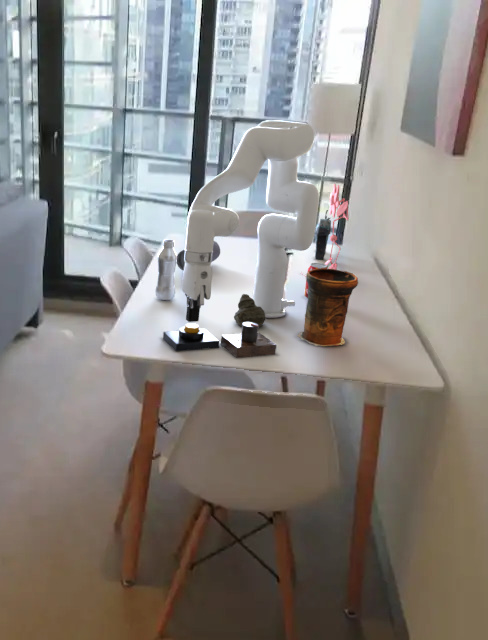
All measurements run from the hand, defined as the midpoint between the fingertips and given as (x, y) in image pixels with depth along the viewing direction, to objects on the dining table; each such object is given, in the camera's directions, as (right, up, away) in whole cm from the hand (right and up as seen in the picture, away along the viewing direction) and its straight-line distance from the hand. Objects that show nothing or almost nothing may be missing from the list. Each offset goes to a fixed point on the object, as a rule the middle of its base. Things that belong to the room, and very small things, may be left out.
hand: (192, 320), depth 202 cm
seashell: (+20, -1, +19) cm, 27 cm away
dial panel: (+16, -8, 0) cm, 18 cm away
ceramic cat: (+67, +37, +110) cm, 134 cm away
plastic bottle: (-5, +10, +41) cm, 42 cm away
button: (0, -3, +1) cm, 3 cm away
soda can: (+48, +11, +50) cm, 70 cm away
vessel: (+39, -5, +10) cm, 41 cm away
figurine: (+58, +24, +80) cm, 102 cm away
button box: (0, -6, +3) cm, 7 cm away
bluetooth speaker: (+11, +26, +81) cm, 85 cm away
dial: (+16, -5, -1) cm, 17 cm away
